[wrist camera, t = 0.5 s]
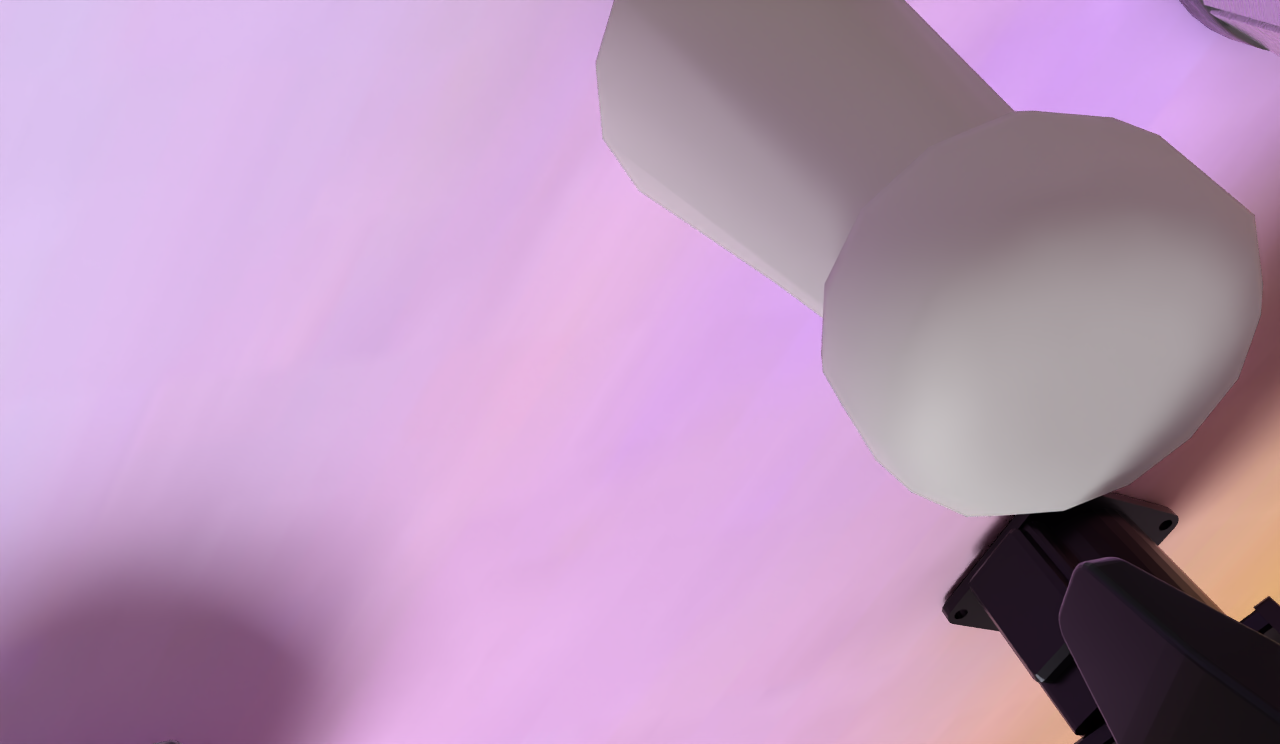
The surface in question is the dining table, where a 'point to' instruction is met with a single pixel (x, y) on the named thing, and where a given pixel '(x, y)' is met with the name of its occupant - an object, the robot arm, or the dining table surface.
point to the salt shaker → (944, 241)
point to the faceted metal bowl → (1241, 20)
